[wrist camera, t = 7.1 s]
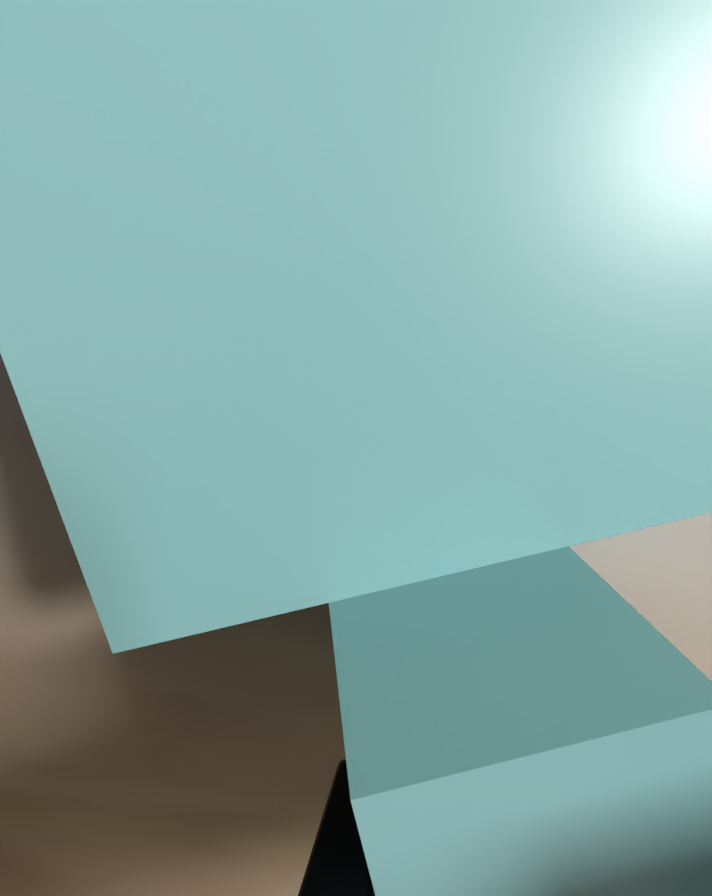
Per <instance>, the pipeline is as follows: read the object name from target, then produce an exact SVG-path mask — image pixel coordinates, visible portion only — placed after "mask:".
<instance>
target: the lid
mask: <svg viewBox="0 0 712 896" xmlns="http://www.w3.org/2000/svg"><path fill="white" fill-rule="evenodd" d="M0 354H1V356H2V359H3V362H4V364H5V367H6V370H7V372H8V375H9V378H10V380H11V383H12V386H13V388H14V391H15V394H16V397H17V399H18V402H19V405H20V407H21V410H22V413H23V415H24V418H25V421H26V423H27V426H28V429H29V431H30V434H31V437H32V439H33V442H34V445H35V447H36V450H37V453H38V455H39V458H40V461H41V463H42V466H43V469H44V471H45V474H46V477H47V480H48V482H49V485H50V488H51V490H52V493H53V496H54V498H55V501H56V504H57V506H58V509H59V512H60V514H61V517H62V520H63V522H64V525H65V528H66V530H67V533H68V536H69V538H70V541H71V544H72V546H73V549H74V552H75V554H76V557H77V560H78V562H79V565H80V568H81V571H82V573H83V576H84V579H85V581H86V584H87V587H88V589H89V592H90V595H91V597H92V600H93V603H94V605H95V608H96V611H97V613H98V616H99V619H100V621H101V624H102V627H103V629H104V632H105V635H106V637H107V640H108V643H109V645H110V648H111V651H112V653H113V654H114V653H118V652H123V651H127V650H131V649H135V648H140V647H144V646H148V645H152V644H157V643H161V642H165V641H169V640H174V639H178V638H182V637H186V636H190V635H195V634H199V633H203V632H207V631H212V630H216V629H220V628H224V627H229V626H233V625H237V624H241V623H245V622H250V621H254V620H258V619H262V618H267V617H271V616H275V615H279V614H284V613H288V612H292V611H296V610H300V609H305V608H309V607H313V606H317V605H322V604H326V603H329V611H330V620H331V629H332V638H333V647H334V656H335V665H336V674H337V683H338V692H339V701H340V710H341V719H342V728H343V737H344V746H345V755H346V764H347V773H348V783H349V792H350V801H351V804H352V808H353V812H354V816H355V820H356V823H357V827H358V831H359V835H360V839H361V843H362V846H363V850H364V854H365V858H366V862H367V866H368V869H369V873H370V877H371V881H372V885H373V889H374V892H375V896H712V681H710V680H709V679H708V678H707V677H706V676H705V675H704V674H703V673H702V672H701V671H700V670H699V669H698V668H697V667H696V666H695V665H693V664H692V663H691V662H690V661H689V660H688V659H687V658H686V657H685V656H684V655H683V654H682V653H681V652H680V651H679V650H678V649H677V648H675V647H674V646H673V645H672V644H671V643H670V642H669V641H668V640H667V639H666V638H665V637H664V636H663V635H662V634H661V633H660V632H658V631H657V630H656V629H655V628H654V627H653V626H652V625H651V624H650V623H649V622H648V621H647V620H646V619H645V618H644V617H643V616H642V615H640V614H639V613H638V612H637V611H636V610H635V609H634V608H633V607H632V606H631V605H630V604H629V603H628V602H627V601H626V600H625V599H624V598H622V597H621V596H620V595H619V594H618V593H617V592H616V591H615V590H614V589H613V588H612V587H611V586H610V585H609V584H608V583H607V582H605V581H604V580H603V579H602V578H601V577H600V576H599V575H598V574H597V573H596V572H595V571H594V570H593V569H592V568H591V567H590V566H589V565H587V564H586V563H585V562H584V561H583V560H582V559H581V558H580V557H579V556H578V555H577V554H576V553H575V552H574V551H573V550H572V549H570V548H569V547H568V546H571V545H576V544H580V543H584V542H588V541H592V540H597V539H601V538H605V537H609V536H614V535H618V534H622V533H626V532H631V531H635V530H639V529H643V528H647V527H652V526H656V525H660V524H664V523H669V522H673V521H677V520H681V519H686V518H690V517H694V516H698V515H702V514H707V513H711V512H712V0H0Z"/></svg>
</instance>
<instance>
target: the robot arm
mask: <svg viewBox="0 0 712 896" xmlns="http://www.w3.org/2000/svg"><path fill="white" fill-rule="evenodd" d="M298 896H375V892H374V889H373V885H372V881H371V877H370V873H369V869H368V866H367V862H366V858H365V854H364V850H363V846H362V843H361V839H360V835H359V831H358V827H357V823H356V820H355V816H354V812H353V808H352V804H351V801H350V792H349V783H348V773H347V764H346V759H343V760H341V761H340V763H339V765H338V767H337V770H336V774H335V777H334V780H333V783H332V787H331V790H330V793H329V796H328V800H327V803H326V806H325V809H324V813H323V816H322V819H321V822H320V826H319V829H318V832H317V835H316V839H315V842H314V845H313V848H312V852H311V855H310V858H309V861H308V865H307V868H306V871H305V874H304V878H303V881H302V884H301V887H300V891H299V894H298Z"/></svg>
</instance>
